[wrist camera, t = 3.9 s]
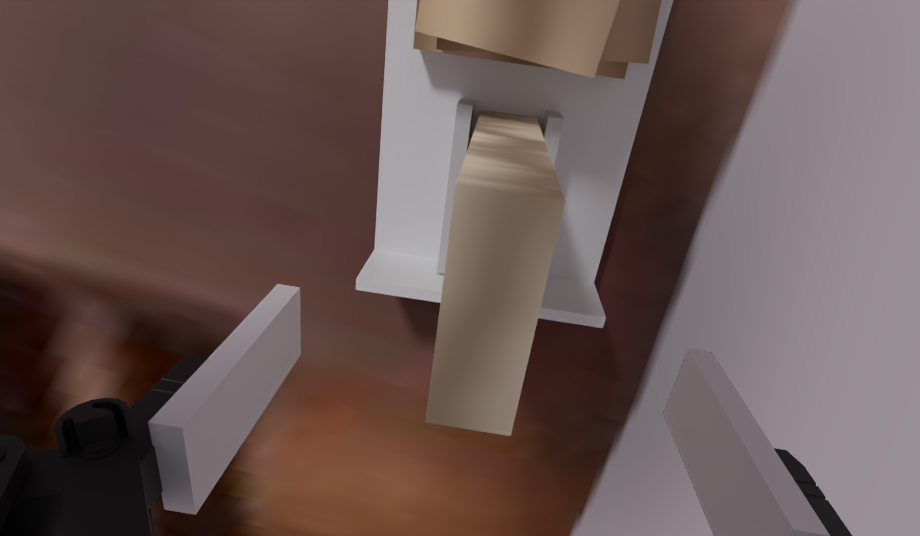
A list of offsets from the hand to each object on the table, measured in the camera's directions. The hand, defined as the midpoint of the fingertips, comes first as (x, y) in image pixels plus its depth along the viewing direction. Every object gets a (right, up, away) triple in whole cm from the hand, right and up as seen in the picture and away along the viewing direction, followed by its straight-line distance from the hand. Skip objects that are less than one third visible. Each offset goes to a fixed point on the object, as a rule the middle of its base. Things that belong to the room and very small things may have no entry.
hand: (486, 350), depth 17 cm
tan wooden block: (+2, +8, +16) cm, 18 cm away
